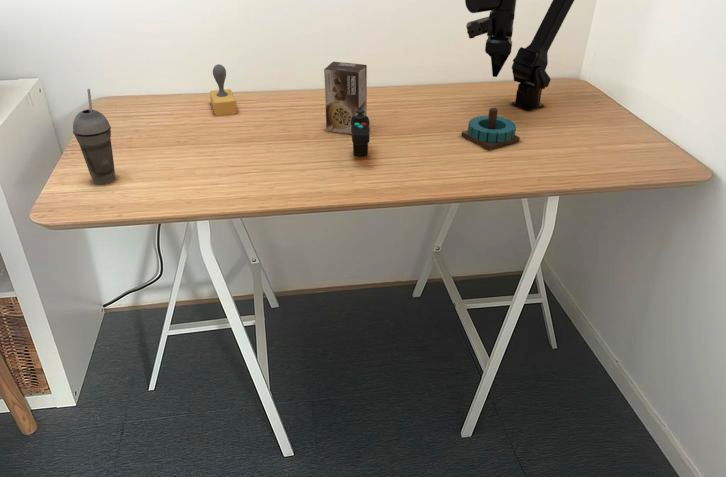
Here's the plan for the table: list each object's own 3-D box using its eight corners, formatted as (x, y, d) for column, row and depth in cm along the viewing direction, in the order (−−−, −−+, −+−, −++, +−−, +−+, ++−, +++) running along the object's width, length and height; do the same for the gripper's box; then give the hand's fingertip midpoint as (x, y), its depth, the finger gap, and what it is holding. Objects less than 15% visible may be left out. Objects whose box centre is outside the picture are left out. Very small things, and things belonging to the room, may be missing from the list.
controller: (368, 146, 148) (369, 106, 143) (370, 168, 138) (370, 126, 133) (350, 146, 148) (350, 106, 143) (351, 168, 138) (350, 126, 133)
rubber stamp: (211, 103, 172) (205, 60, 166) (232, 101, 174) (227, 58, 167) (215, 115, 164) (209, 71, 158) (237, 113, 166) (232, 69, 159)
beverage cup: (91, 172, 135) (69, 83, 124) (125, 171, 136) (106, 82, 125) (81, 188, 129) (57, 95, 118) (117, 187, 130) (96, 95, 119)
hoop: (490, 121, 159) (491, 112, 158) (524, 135, 152) (525, 126, 150) (458, 131, 154) (459, 121, 152) (491, 146, 146) (493, 137, 145)
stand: (491, 128, 159) (494, 99, 154) (519, 141, 151) (523, 111, 147) (461, 136, 154) (464, 106, 150) (488, 150, 147) (492, 119, 143)
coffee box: (367, 126, 159) (368, 64, 150) (359, 136, 153) (359, 72, 145) (334, 122, 161) (333, 60, 152) (325, 131, 156) (323, 67, 147)
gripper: (472, -2, 160) (466, 58, 169) (467, 14, 145) (461, 80, 153) (516, 1, 159) (508, 61, 167) (515, 17, 143) (506, 83, 152)
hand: (495, 71), depth 160 cm, fingers open, 9 cm apart
